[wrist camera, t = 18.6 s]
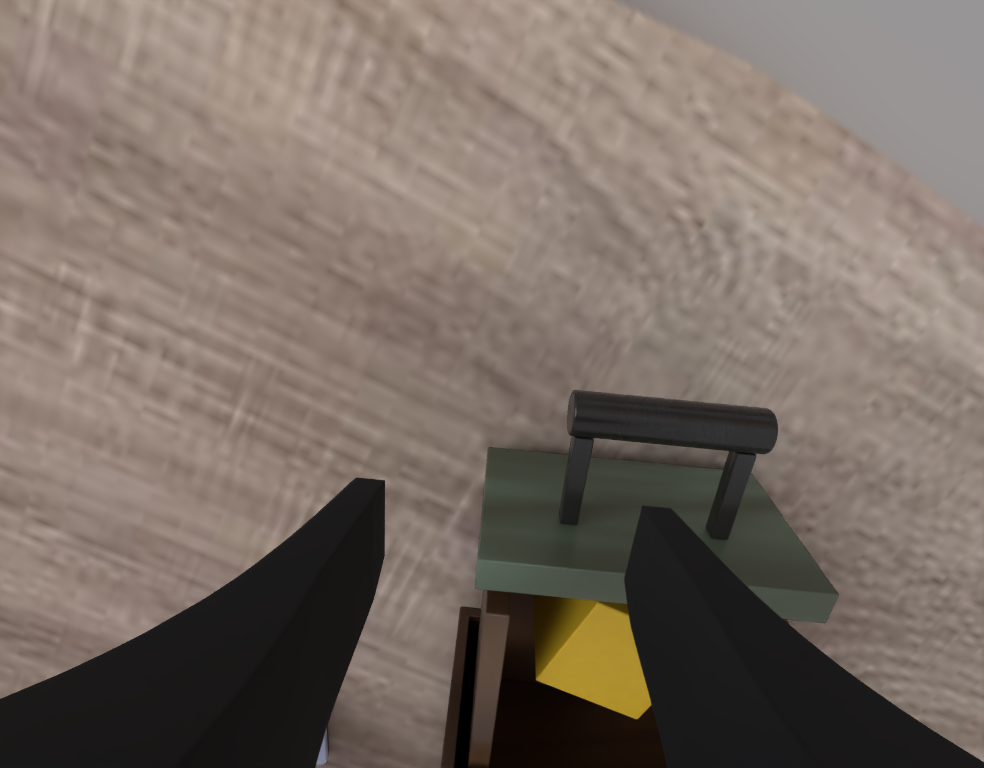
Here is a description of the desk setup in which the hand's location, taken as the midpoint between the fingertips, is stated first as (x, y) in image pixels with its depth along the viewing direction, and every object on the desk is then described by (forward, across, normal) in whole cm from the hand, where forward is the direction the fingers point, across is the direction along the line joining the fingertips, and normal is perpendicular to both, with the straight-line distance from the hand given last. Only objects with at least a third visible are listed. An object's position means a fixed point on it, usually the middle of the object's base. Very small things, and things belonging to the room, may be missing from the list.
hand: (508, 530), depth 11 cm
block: (+9, -5, +9) cm, 13 cm away
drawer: (+10, -5, +8) cm, 13 cm away
